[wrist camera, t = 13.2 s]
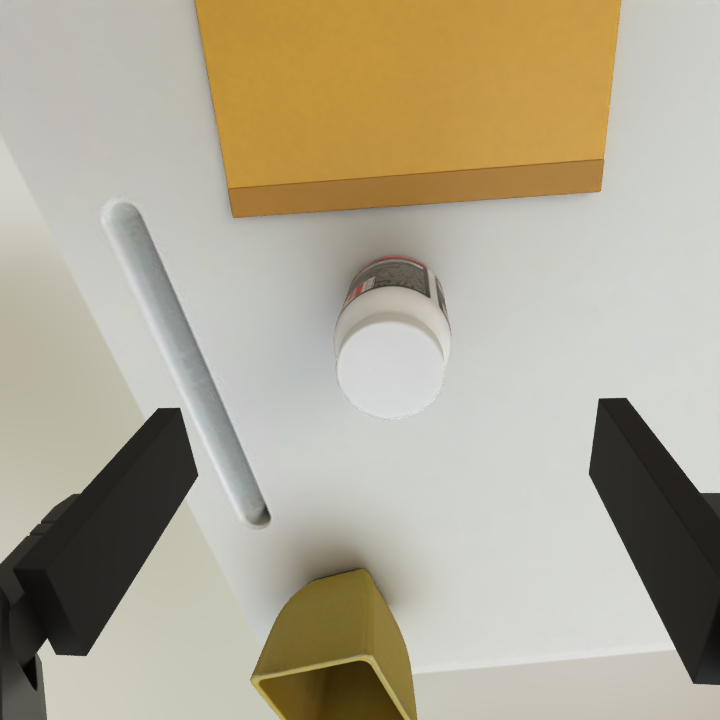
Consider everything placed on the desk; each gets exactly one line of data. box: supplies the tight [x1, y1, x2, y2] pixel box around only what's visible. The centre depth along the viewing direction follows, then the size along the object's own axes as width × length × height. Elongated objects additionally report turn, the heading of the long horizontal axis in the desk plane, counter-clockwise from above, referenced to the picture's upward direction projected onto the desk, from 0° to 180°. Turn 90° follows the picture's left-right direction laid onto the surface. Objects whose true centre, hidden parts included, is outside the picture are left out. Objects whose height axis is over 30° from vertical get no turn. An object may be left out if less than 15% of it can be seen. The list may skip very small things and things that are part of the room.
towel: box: [195, 0, 621, 218], centre depth 24 cm, size 15×20×1 cm
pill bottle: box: [334, 256, 452, 419], centre depth 26 cm, size 6×6×10 cm
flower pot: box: [250, 569, 417, 720], centre depth 37 cm, size 9×9×9 cm
